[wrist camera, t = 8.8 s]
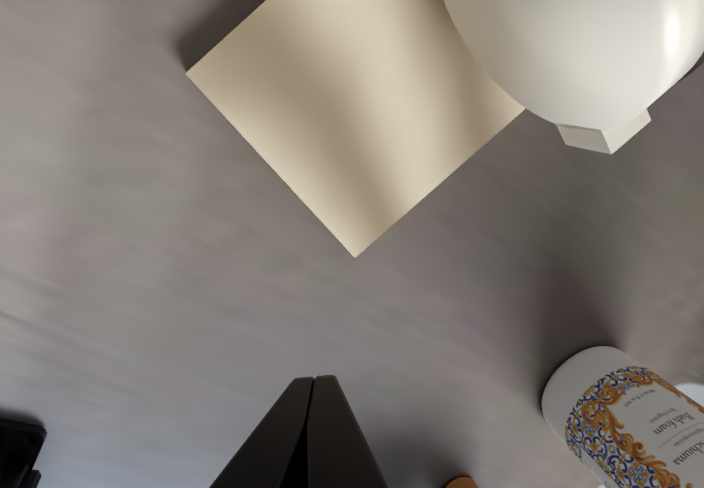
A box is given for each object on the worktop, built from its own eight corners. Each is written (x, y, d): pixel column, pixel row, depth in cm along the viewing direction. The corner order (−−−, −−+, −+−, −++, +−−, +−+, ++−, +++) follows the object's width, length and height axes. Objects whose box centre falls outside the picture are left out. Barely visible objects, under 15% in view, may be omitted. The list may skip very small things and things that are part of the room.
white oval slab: (514, 134, 18) (708, 174, 11) (384, -101, 14) (565, -289, 7) (543, 108, 18) (757, 132, 11) (423, -136, 14) (646, -363, 6)
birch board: (349, 249, 21) (362, 268, 19) (186, 73, 16) (182, 73, 14) (624, 8, 20) (669, 1, 18) (536, -245, 15) (583, -291, 14)
